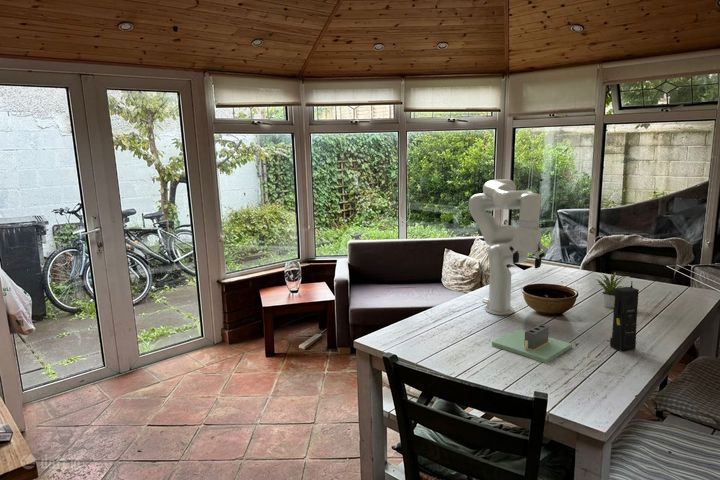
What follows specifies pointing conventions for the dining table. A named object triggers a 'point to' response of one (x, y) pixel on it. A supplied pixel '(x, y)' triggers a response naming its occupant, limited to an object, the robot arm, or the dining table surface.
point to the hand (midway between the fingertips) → (526, 265)
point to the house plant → (609, 290)
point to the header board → (541, 353)
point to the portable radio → (624, 318)
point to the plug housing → (536, 336)
